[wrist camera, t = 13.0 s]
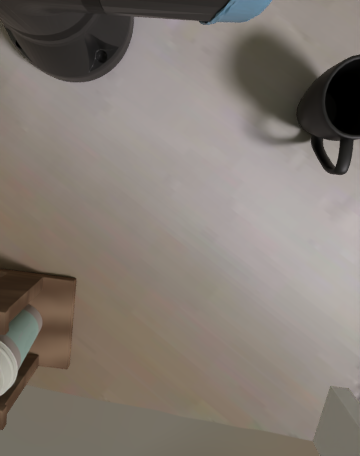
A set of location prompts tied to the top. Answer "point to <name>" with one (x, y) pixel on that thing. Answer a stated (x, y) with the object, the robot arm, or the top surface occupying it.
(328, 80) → the mug
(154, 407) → the top surface
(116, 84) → the top surface
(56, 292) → the wooden stand
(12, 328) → the coffee cup
